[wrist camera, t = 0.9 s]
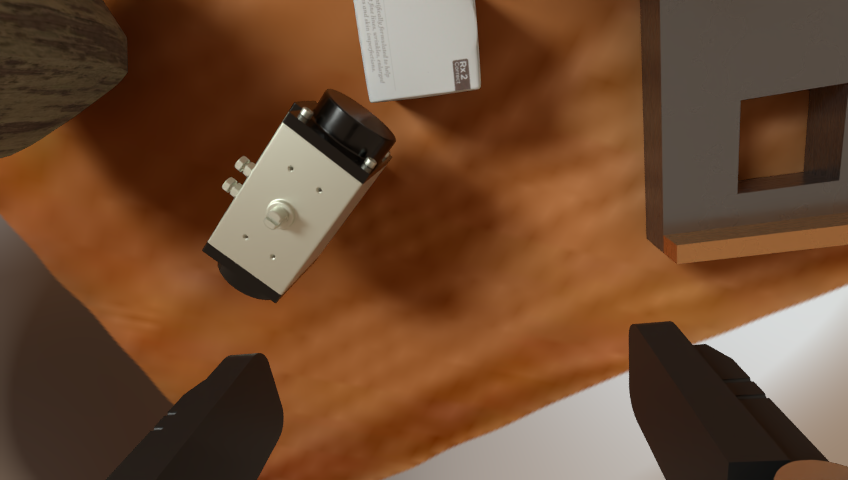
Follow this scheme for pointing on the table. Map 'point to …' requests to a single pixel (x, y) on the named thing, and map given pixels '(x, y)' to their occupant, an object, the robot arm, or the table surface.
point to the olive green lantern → (54, 65)
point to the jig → (720, 125)
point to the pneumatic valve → (298, 193)
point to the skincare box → (418, 47)
